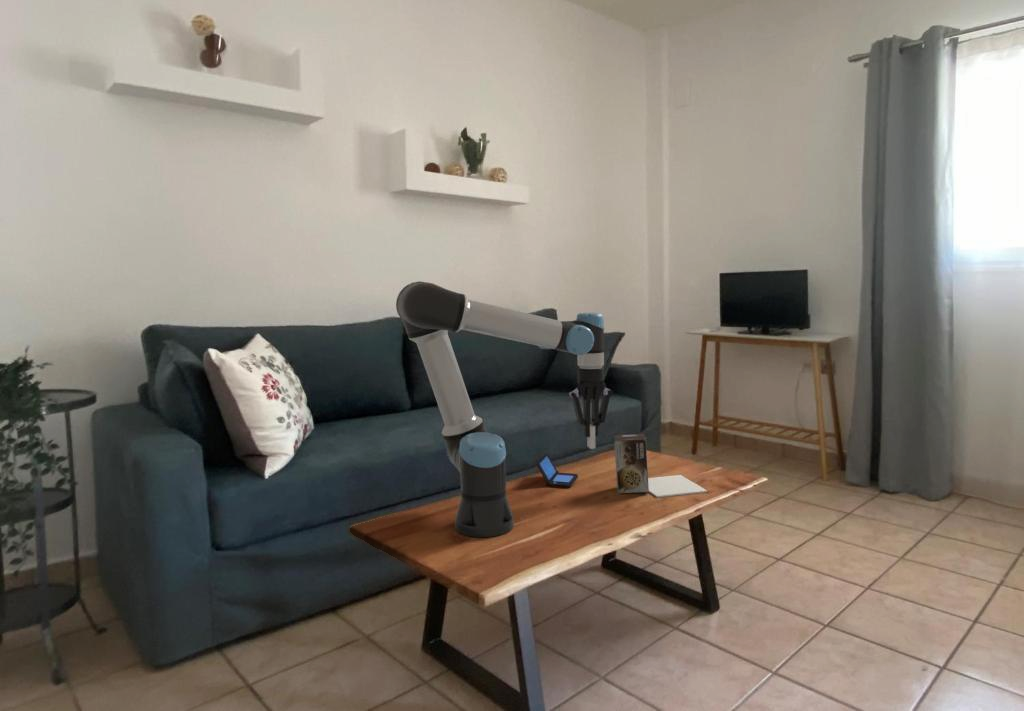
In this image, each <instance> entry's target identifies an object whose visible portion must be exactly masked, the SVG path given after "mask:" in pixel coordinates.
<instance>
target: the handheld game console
mask: <svg viewBox="0 0 1024 711" xmlns="http://www.w3.org/2000/svg"><path fill="white" fill-rule="evenodd" d="M536 466H537V468H538V470H539V472H540V474H541V475H542V478H543V480H545V482H546V487H547V488H549V487H550V488H563V489H570V488H571V487H572V486H573V485H574V484H575V482H576V480H577V479H578V478H579V474H577V473H569V472H560V471H559V470H557V468H556V466H555V465H554V463H553V461H552V459H551V458H550V456H549V455H548V453H544V454H543V455H542V457H540V458H539V460H538V461H537V462H536Z"/></svg>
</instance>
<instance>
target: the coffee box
mask: <svg viewBox="0 0 1024 711" xmlns="http://www.w3.org/2000/svg"><path fill="white" fill-rule="evenodd" d="M613 442H614V459H615V470H616V471H615V475H616V488H617V494H633V493H635V494H636V493H650V492H649V485H648V478H649V472H648V471H649V470H648V456H647V440H646V436H645V434H644V433H634V434H633V433H632V434H630V433H629V434H615V435H613Z"/></svg>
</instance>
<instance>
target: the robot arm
mask: <svg viewBox="0 0 1024 711" xmlns="http://www.w3.org/2000/svg"><path fill="white" fill-rule="evenodd" d="M395 308H396V312H397V315H398V316H399V318H400V319H401V321H402V323H403V326H404V329H405V332H406V334H407V337H408V339H409V340H410V341H412V342H414V343H416V346H417V349H418V351H419V354H420V357H421V360H422V363H423V366H424V369H425V371H426V374H427V378H428V381H429V384H430V386H431V389H432V392H433V394H434V397H435V400H436V402H437V403H436V404H437V407H438V409H439V412H440V414H441V417H442V420H443V424H444V426H443V428H442V431H441V435H442V437H443V440H444V443H445V451H446V456H447V458H448V460H449V462H450V463H451V464H452V465H453V466H454V467H455V468H456V469H457V470H458V472H459V474H460V501H459V504H458V506H457V510H456V514H455V518H454V528H455V531H456V532H458V533H459V534H462V535H464V536H467V537H472V538H473V537H475V538H491V537H497V536H500V535H504V534H506V533H508V532H510V531H512V530H513V528H514V526H515V524H514V521H515V519H514V514H513V512H512V509H511V506H510V504H509V501H508V498H507V465H506V463H507V462H506V461H507V460H506V457H507V449H506V443H505V441H504V439H503V438H502V437H501V436H500V435H498V434H495V433H493V434H492V433H491V432H487V430H486V427H485V424H484V421H483V418H482V417H480V416H477V415H476V414H475V412H474V408H473V405H472V403H471V402H472V401H471V400H470V396H469V394H468V390H467V388H466V384H465V381H464V378H463V375H462V372H461V370H460V366H459V363H458V361H457V357H456V355H455V352H454V350H453V349H454V348H453V346H452V343H451V339H450V337H449V335H448V334H449V333H448V332H453V333H458V332H460V331H461V330H464V331H468V332H472V333H476V334H477V333H478V334H482V335H487V336H491V337H495V338H501V339H506V340H511V341H515V342H519V343H520V342H521V343H524V344H528V345H529V344H530V345H534V346H538V348H539V349H541V350H552V349H553V350H557V351H561V352H565V353H571V355H577V359H576V360H577V366H578V368H577V384H576V387H575V389H574V390H572V391H569V392H568V396H569V397H570V398H571V400H572V404H573V408H574V409H573V410H574V411H575V413H574V414H575V416H576V421H577V423H578V424H580V425H582V426H583V435H584V437H586V443H587V448H589V449H590V450H593V449H596V437H598V436H599V427H600V425H601V424H604V423H605V421H606V417H607V412H608V407H609V403H610V398H611V396H612V395H613V394H614V390H612V389H609V388H607V387H606V383H605V381H604V380H605V369H604V367H603V366H604V365H605V357H604V356H605V355H604V354H605V353H604V351H605V350H604V349H605V347H604V345H605V344H604V341H605V339H604V337H605V336H604V334H605V332H604V330H605V324H604V316H603V314H602V313H601V312H579V313H577V315H576V318H575V320H565V321H564V320H563V321H561V320H558V319H554V318H549V317H545V316H540V315H536V314H532V313H528V312H524V311H520V310H514V309H510V308H506V307H502V306H497V305H494V304H489V303H484V302H479V301H477V300H472V299H468V297H467V295H466V294H464V293H459V292H456V291H452V290H449V289H446V288H445V287H442V286H439V285H437V284H435V283H434V282H433V283H431V282H426V281H421V280H420V281H418V280H417V281H415V282H411V283H409V284H407V285H406V286H404V287H403V288H401V290H400V291H399V292H398V295H397V298H396V303H395ZM579 395H580V396H581V398H582V403H583V405H582V406H583V408H581V403H580V400H579ZM601 395H602V396H601ZM600 397H602V398H601V401H600ZM599 402H601V403H599ZM599 404H600V408H599ZM582 409H583V412H582Z"/></svg>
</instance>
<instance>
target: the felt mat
mask: <svg viewBox="0 0 1024 711" xmlns="http://www.w3.org/2000/svg"><path fill="white" fill-rule="evenodd" d="M648 485H649V492H648V493H649V494H651V495H653V497H655V498H657V499H658V498H666V497H675V496H684V495H686V496H687V495H694V494H703V493H704V494H705V493H707V492H708V490H707V489H705V488H704V487H702V486H700V485H698V484H697V483H695V482H693V481H692V480H689V479H688V478H686V477H685V476H683V475H681V474H677V475H676V474H674V475H668V476H667V475H666V476H657V477H656V476H655V477H648Z"/></svg>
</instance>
